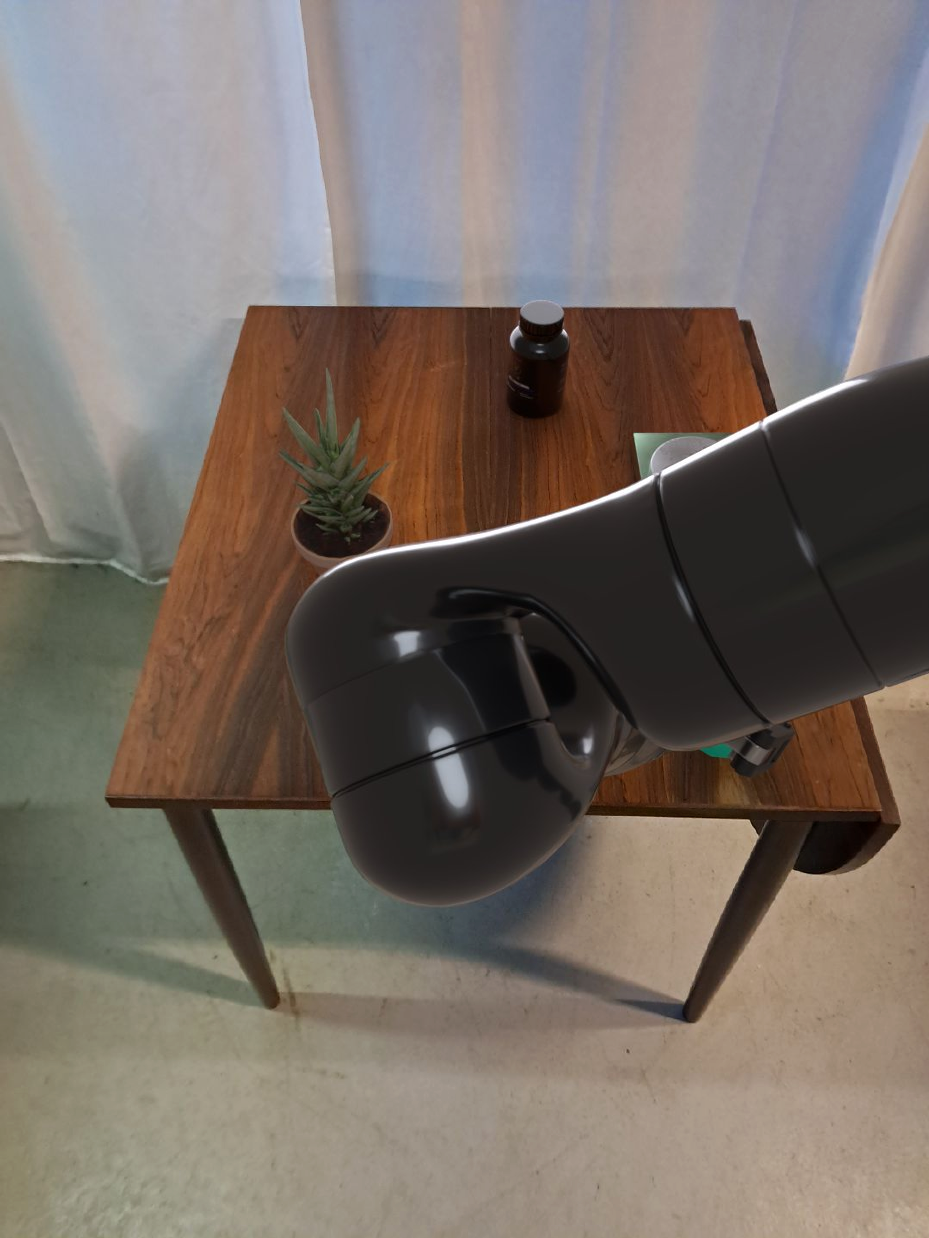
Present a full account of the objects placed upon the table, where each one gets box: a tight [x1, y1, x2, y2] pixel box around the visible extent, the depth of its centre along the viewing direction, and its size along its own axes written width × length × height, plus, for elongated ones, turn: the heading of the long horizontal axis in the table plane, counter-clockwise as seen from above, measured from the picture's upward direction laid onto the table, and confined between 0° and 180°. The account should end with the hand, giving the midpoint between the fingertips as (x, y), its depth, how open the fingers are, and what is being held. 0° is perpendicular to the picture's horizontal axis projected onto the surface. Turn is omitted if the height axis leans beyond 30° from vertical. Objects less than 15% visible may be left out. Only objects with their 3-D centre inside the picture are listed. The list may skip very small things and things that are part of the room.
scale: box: [630, 432, 734, 483], centre depth 94 cm, size 13×12×3 cm
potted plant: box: [277, 366, 395, 577], centre depth 79 cm, size 10×10×25 cm
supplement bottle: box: [505, 299, 571, 419], centre depth 100 cm, size 7×7×12 cm
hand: (693, 674), depth 55 cm, fingers open, 8 cm apart
